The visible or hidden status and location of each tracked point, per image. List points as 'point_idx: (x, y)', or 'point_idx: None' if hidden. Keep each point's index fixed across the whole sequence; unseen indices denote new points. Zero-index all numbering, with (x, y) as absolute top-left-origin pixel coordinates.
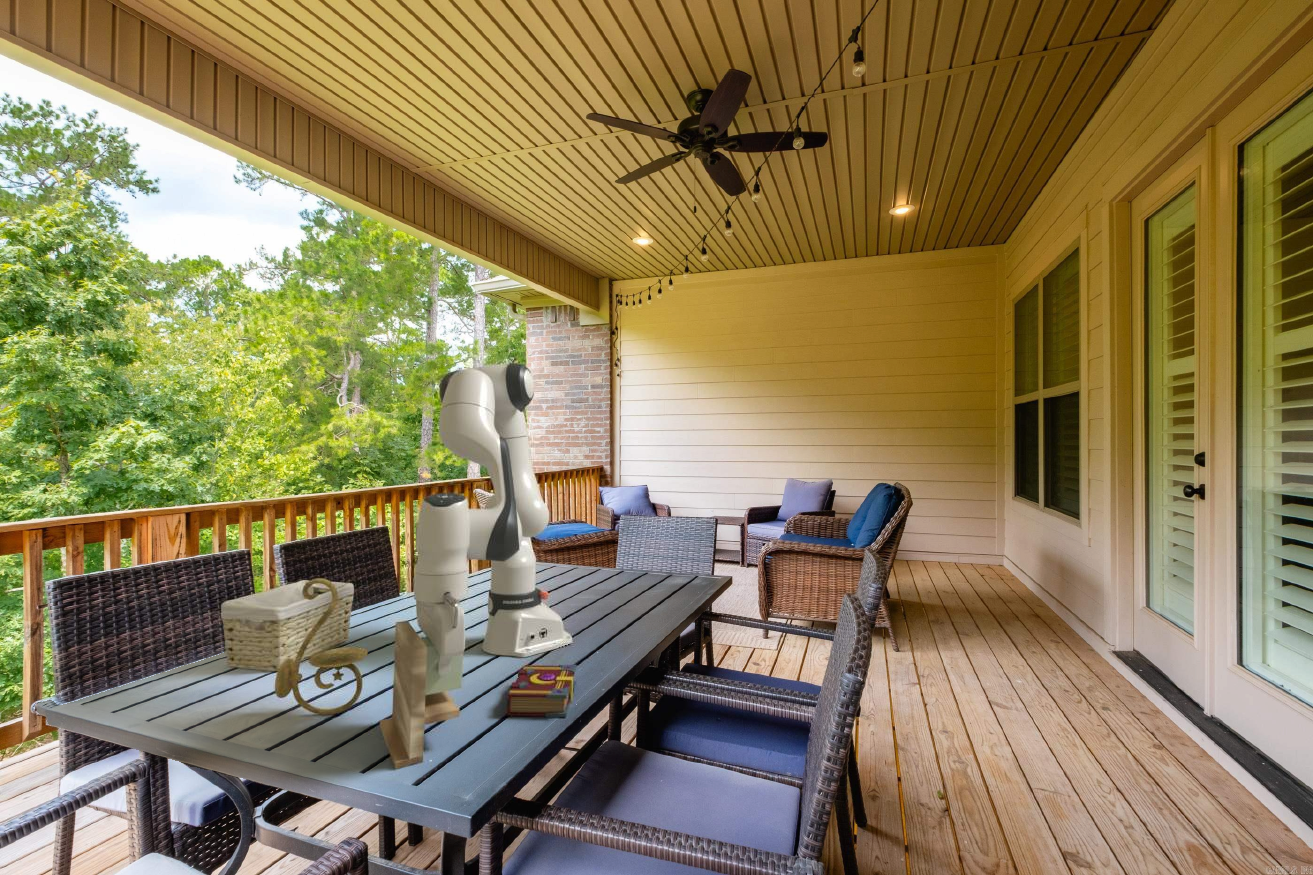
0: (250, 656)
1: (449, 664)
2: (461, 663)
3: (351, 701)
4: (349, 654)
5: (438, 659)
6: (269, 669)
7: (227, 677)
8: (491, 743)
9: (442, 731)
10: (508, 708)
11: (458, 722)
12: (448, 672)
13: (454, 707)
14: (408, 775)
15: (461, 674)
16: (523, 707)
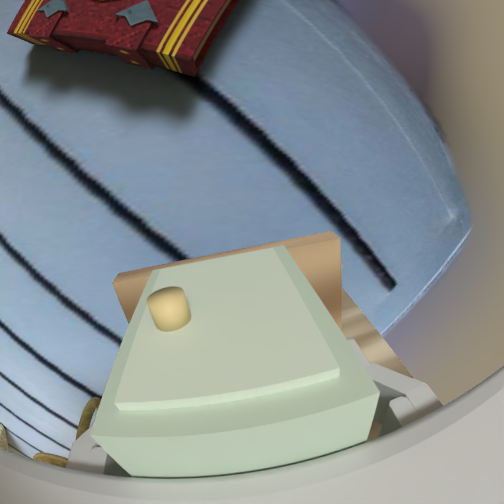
0: (2, 448)
1: (366, 360)
2: (319, 298)
3: (98, 404)
4: (54, 463)
5: (374, 417)
6: (5, 431)
7: (27, 452)
8: (325, 139)
9: (219, 242)
10: (194, 69)
11: (182, 203)
12: (350, 339)
13: (319, 252)
14: (364, 299)
15: (299, 268)
16: (208, 32)
